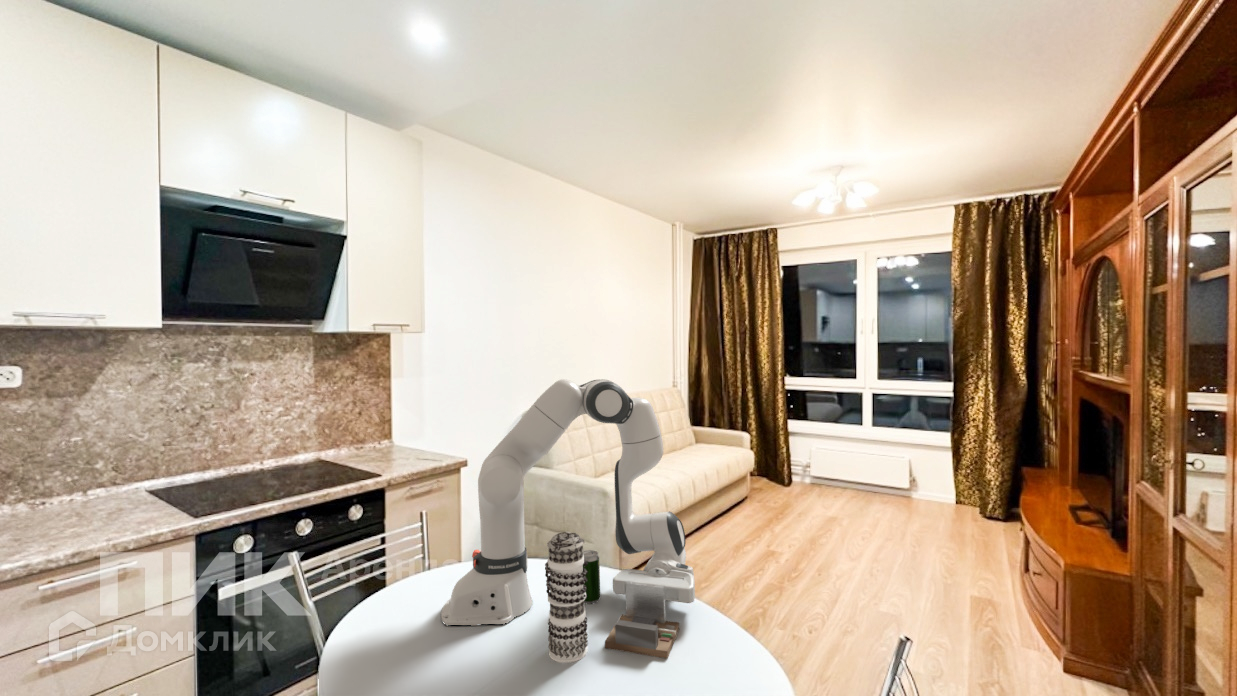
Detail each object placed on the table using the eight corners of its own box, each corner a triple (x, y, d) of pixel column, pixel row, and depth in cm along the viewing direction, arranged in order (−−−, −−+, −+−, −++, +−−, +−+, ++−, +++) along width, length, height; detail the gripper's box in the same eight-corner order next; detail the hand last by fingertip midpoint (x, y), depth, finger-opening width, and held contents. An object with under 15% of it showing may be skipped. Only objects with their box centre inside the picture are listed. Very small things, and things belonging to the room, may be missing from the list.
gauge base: (622, 620, 124) (621, 597, 124) (679, 629, 119) (678, 605, 119) (605, 648, 112) (604, 622, 112) (667, 658, 108) (666, 632, 108)
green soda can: (586, 606, 131) (585, 559, 131) (576, 598, 136) (575, 553, 136) (604, 600, 134) (603, 554, 134) (593, 592, 138) (592, 548, 139)
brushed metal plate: (628, 620, 120) (627, 581, 120) (678, 627, 116) (677, 587, 116) (621, 632, 115) (620, 591, 115) (673, 640, 111) (672, 597, 112)
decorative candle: (561, 636, 118) (558, 526, 118) (596, 644, 114) (593, 531, 114) (538, 657, 109) (535, 540, 110) (576, 667, 106) (573, 546, 106)
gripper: (621, 559, 135) (603, 581, 122) (699, 567, 129) (688, 592, 116) (622, 583, 135) (604, 608, 122) (699, 592, 129) (689, 620, 116)
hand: (645, 600), depth 119 cm, fingers closed, pressing on brushed metal plate
